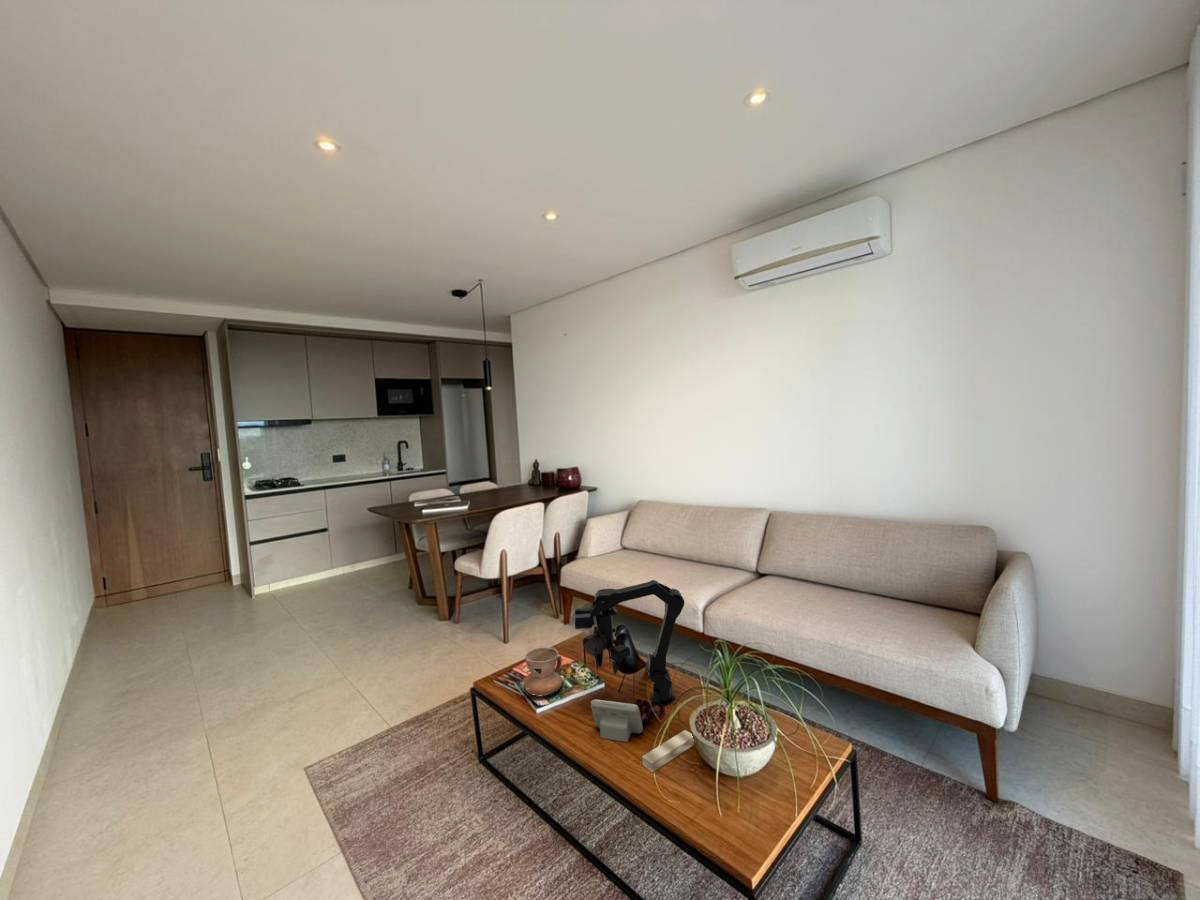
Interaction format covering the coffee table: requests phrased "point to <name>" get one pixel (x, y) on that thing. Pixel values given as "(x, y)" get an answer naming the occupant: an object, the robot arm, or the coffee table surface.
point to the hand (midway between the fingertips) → (607, 670)
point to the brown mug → (542, 671)
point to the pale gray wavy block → (668, 751)
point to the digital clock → (616, 719)
